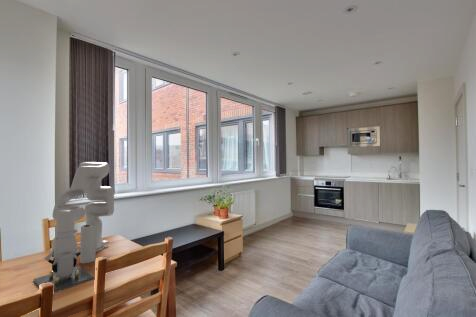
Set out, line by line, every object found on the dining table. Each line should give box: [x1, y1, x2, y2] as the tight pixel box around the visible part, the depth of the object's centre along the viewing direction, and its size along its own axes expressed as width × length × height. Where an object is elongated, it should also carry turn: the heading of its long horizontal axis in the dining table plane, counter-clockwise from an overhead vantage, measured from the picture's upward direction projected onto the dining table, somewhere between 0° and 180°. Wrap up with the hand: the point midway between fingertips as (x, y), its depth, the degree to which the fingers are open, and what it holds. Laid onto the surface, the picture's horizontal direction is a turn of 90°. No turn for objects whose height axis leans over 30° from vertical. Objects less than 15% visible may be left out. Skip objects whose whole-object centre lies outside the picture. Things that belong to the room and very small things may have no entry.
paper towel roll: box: [79, 224, 97, 264], centre depth 146 cm, size 7×6×21 cm
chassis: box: [33, 265, 95, 293], centre depth 125 cm, size 20×20×4 cm
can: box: [54, 252, 74, 278], centre depth 125 cm, size 8×8×12 cm
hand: (64, 268), depth 125 cm, fingers closed on can, 7 cm apart
